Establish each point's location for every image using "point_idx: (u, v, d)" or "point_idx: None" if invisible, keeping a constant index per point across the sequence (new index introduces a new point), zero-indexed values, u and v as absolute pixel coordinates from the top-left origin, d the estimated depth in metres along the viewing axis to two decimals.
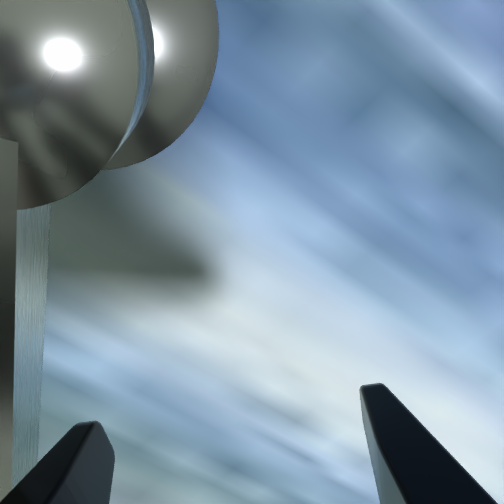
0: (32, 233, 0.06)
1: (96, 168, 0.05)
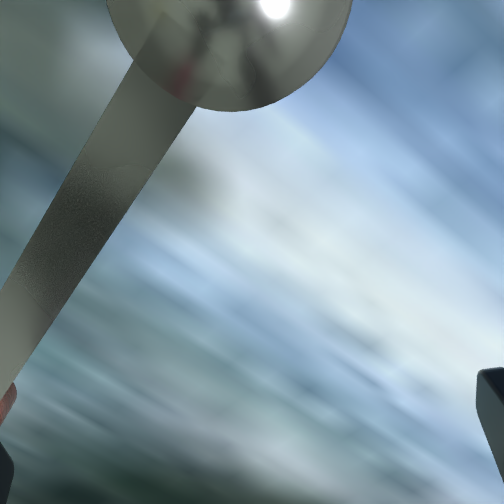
0: None
1: (269, 101, 0.07)
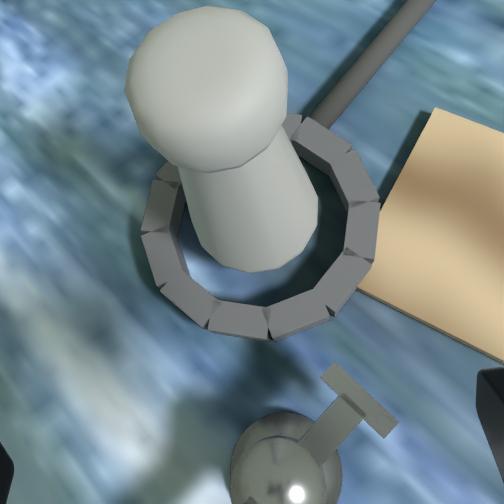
0: None
1: None
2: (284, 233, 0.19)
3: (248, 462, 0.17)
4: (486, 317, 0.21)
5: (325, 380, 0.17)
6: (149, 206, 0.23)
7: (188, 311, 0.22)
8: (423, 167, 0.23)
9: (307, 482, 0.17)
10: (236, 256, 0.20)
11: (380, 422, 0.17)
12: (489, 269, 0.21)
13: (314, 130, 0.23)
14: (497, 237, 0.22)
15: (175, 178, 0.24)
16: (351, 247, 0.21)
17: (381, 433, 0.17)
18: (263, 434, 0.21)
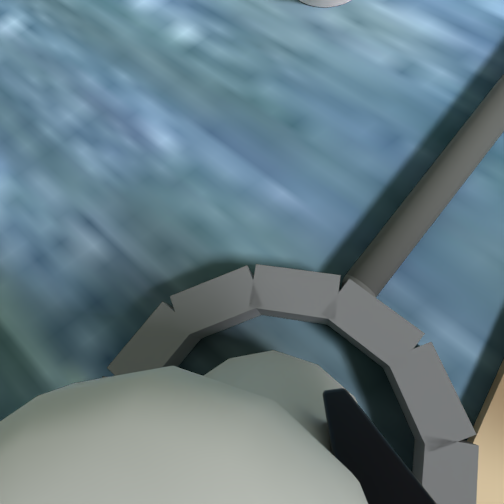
0: None
1: None
2: None
3: None
4: None
5: None
6: None
7: None
8: None
9: None
10: None
11: None
12: None
13: (361, 304, 0.14)
14: None
15: None
16: None
17: None
18: None
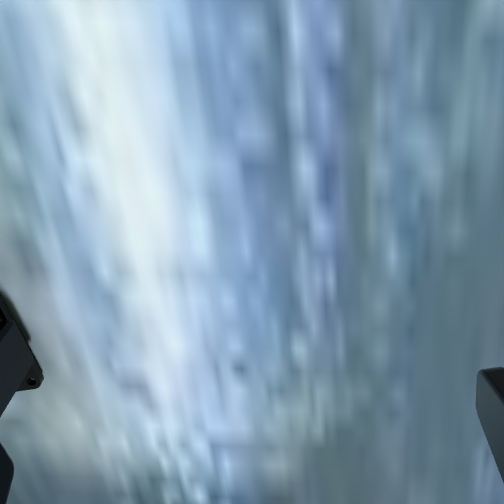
0: None
1: None
2: None
3: None
4: None
5: None
6: None
7: None
8: None
9: None
10: None
11: None
12: None
13: None
14: None
15: None
16: None
17: None
18: None
